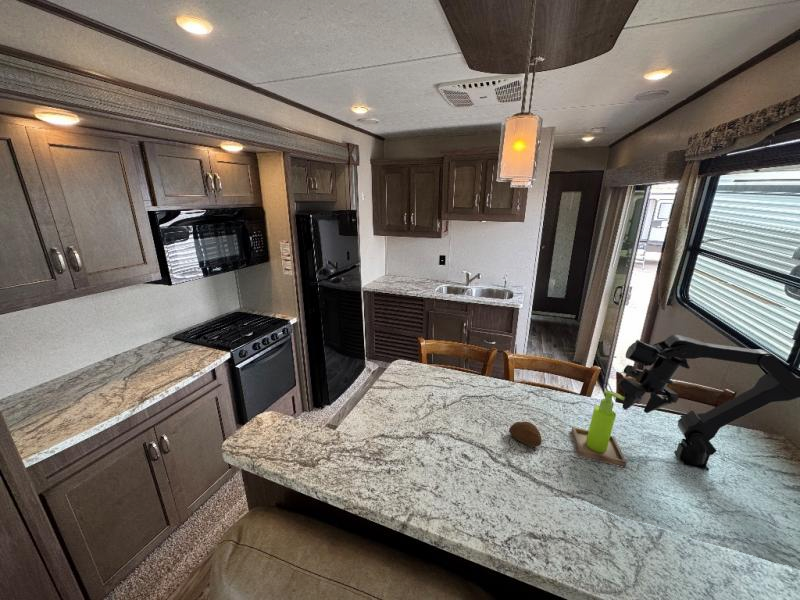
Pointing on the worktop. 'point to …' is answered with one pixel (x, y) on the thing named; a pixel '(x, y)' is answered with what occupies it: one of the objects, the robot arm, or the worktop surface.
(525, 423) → the potato
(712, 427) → the robot arm
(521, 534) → the worktop surface
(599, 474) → the worktop surface
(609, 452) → the tray
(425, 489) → the worktop surface
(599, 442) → the soap dispenser
